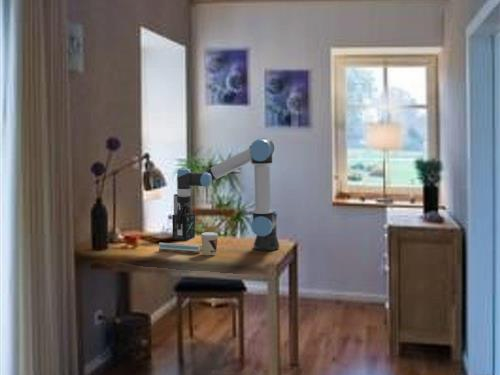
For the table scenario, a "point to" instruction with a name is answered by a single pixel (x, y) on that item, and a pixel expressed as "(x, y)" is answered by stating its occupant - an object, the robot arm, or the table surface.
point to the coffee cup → (209, 243)
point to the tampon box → (184, 227)
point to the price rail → (179, 247)
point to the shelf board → (182, 250)
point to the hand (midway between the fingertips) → (183, 233)
